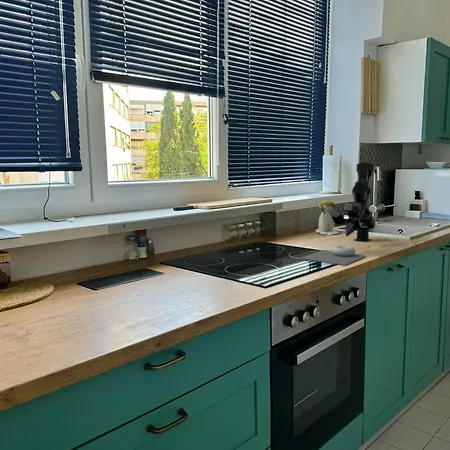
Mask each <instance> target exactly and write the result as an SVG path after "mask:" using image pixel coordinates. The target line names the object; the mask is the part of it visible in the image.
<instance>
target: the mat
mask: <svg viewBox="0 0 450 450" xmlns="http://www.w3.org/2000/svg"><path fill="white" fill-rule="evenodd" d="M365 258H367V255H363V254H357V253H355V254H354V255H351V256H338V255H335V254H333V253H332V250H330V249H329V250H328V249H323V250H319V251H317V252H314V253H311V254H308V255H305V256H302V257H300V259H301V260H307V261H312V262H317V261H318V262H317V263H324V262H326V263H325V264H330V263H333V264H332V265H336V264H337V266H343V267H346V266H349V265H351V264H353V263H356V262H358V261H360V260H362V259H365Z"/></svg>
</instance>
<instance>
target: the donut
mask: <svg viewBox="0 0 450 450" xmlns="http://www.w3.org/2000/svg"><path fill="white" fill-rule="evenodd" d="M331 251H332V253H333V254H335V255H338V256H351V255H354V254H356V252H357V251H356V248H355V247H354V246H351V245H343V244H342V245H341V244H339V245H335V246H333V247H332V248H331Z"/></svg>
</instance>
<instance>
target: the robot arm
mask: <svg viewBox="0 0 450 450" xmlns="http://www.w3.org/2000/svg"><path fill="white" fill-rule="evenodd" d="M355 171H356V173H357V175H358V180H357V181H356V182H355V183H354V186H353V187H352V189H351V194H352V195H353V200H354V201H353V203H351V202H345V203H344V207H343V211H344V212H345V215H343V214H342V213H340V212H333V213H331V217H332V219H333V221H334V223H335V226H336V225H337V226H343V225H344V227H345V233H344V234H345V236H346V237H349V236H350V235H352V234H353V233H355V232H356V238H355V239H353V241H358V242H369V241H371V240H372V238H369V234H370V233H369V231H370V230H372V229H375V227H376V221H375V219H374V217H373V215H371V212H370V210H369V209H368V207H369V196H371V194H372V192H373V191H372V188H371V186H370V181H371V179H372V177H373V173H374V172H375V163H372V162H369V161H368V162H367V161H366V162H364V161H360V162H359V163H356V170H355Z"/></svg>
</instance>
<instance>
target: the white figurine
mask: <svg viewBox="0 0 450 450" xmlns="http://www.w3.org/2000/svg"><path fill="white" fill-rule="evenodd" d="M318 208H319V209H320V211H321V213H320V216H319V218H318V228H317V229H315V232H316V233H317V234H318V233H319V234H321V235H326V236H332V235H336V234H340V232H339V231H336V229H334V228H335V227H336V224H335V223H334V221H333V219H332V217H331V216H332V214H331V213H330V211H332V210H335V209H336V208H337V205H335V203H334V202H333V201H331V200H323V201H321V202H320V203H319V204H318Z"/></svg>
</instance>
